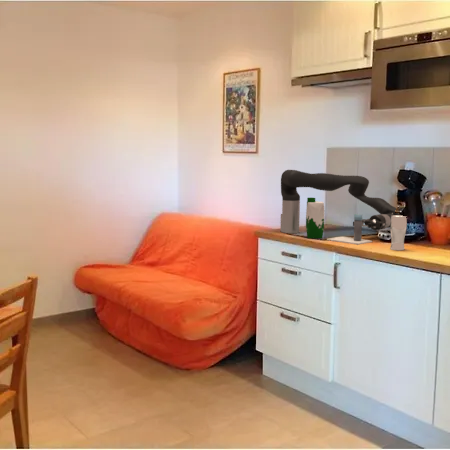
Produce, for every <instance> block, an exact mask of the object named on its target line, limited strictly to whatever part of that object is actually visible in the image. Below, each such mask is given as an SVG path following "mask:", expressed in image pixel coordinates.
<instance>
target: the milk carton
mask: <svg viewBox="0 0 450 450" xmlns="http://www.w3.org/2000/svg"><path fill="white" fill-rule="evenodd" d="M305 211H306V212H305V216H306V217H305V230H306V237H307V239H318V238H322V239H323V236H324V229H325V202H324V201H317V200H316V197H307V199H306V209H305Z"/></svg>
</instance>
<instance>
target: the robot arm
mask: <svg viewBox="0 0 450 450" xmlns="http://www.w3.org/2000/svg"><path fill="white" fill-rule="evenodd" d="M369 184H370V180H369V178H366V177H365V176H361V175H342V174H333V173H332V174H331V173H325V172H324V173H323V172H318V173H309V172H304V171H300V170H295V169H287V170H284V171H283V172H282V173H281V177H280V195H281V197H282V200H281V201H282V204H281V205H282V206H281V207H282V208H281V209H282V210H281V212H282V213H280V232H281V233H284V234H285V233H286V234H298V233H300V218H301V217H300V216H301V215H300V213H301V212H300V209H301V208H300V207H301V195H300V194H299V192H298V190H297V188H311V189H315V190H319V191H323V192H325V191H327V192H332V191H335V190H339V189H340V188H343V187H345V186H348V185H349V186H348V190H347V191H348V194H349V195H351V196H352V197H354V198H355V199H357V200H358V201H360V202H361V203H362V202H363V203H364V204H366V205H368V206H370V207H371V208H372V209H374V210H375V211H376V212H378V213H379V214H373V215H372V216H370V217H369V218H367V219H363V218H362V228H363V227H366V228H369V229H371V230H373V231H379V230H384V229H388V228H389V229H390V222H391V216H392V215H399V214H398V213H395V210H396V208H397V207H395V206H393V205H392V204H390V203H389V202H388V201H386V200H385V199H384V198H380V197H369V196H367V195H365V193H366V191H367V189H368V187H369ZM352 226H353V227H354V221H353V222H352Z"/></svg>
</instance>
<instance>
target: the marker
mask: <svg viewBox="0 0 450 450" xmlns="http://www.w3.org/2000/svg"><path fill="white" fill-rule="evenodd" d="M353 215H354V216H353V220H354V221H353V222H354V226H353V238H354V241H361V239H362V233H363V230H362V229H363V226H362V219H363V214H360V213H359V214H358V213H357V214H353Z"/></svg>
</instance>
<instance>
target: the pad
mask: <svg viewBox="0 0 450 450" xmlns="http://www.w3.org/2000/svg"><path fill="white" fill-rule="evenodd" d="M326 240H327V241H330V240H331V242H337V243H338V242H339V243H343V244H350V245H364V244H369V243H373V240H370V239H363V238H361V241H354V237H350V236H335V237H331V238H326Z"/></svg>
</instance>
